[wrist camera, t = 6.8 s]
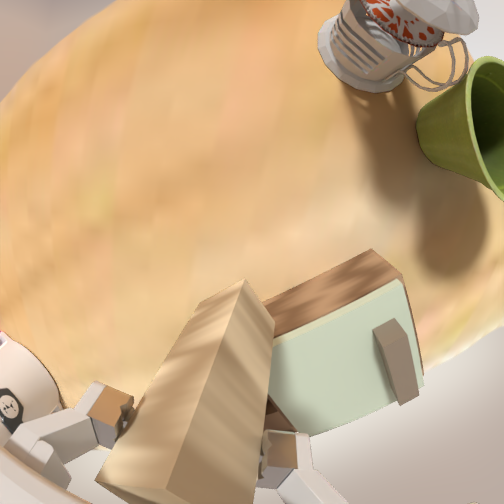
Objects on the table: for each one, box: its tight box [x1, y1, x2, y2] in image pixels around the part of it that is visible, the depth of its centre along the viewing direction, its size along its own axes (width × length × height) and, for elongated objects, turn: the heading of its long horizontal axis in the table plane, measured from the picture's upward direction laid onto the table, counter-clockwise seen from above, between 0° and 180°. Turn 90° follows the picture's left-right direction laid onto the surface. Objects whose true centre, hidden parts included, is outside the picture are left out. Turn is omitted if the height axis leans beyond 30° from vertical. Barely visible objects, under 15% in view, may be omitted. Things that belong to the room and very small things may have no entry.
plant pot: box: [416, 56, 504, 202], centre depth 17 cm, size 12×12×11 cm
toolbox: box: [262, 249, 424, 439], centre depth 26 cm, size 20×13×7 cm, turn 118°
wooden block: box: [95, 279, 275, 504], centre depth 10 cm, size 3×3×12 cm
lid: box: [268, 279, 424, 437], centre depth 20 cm, size 13×13×4 cm
